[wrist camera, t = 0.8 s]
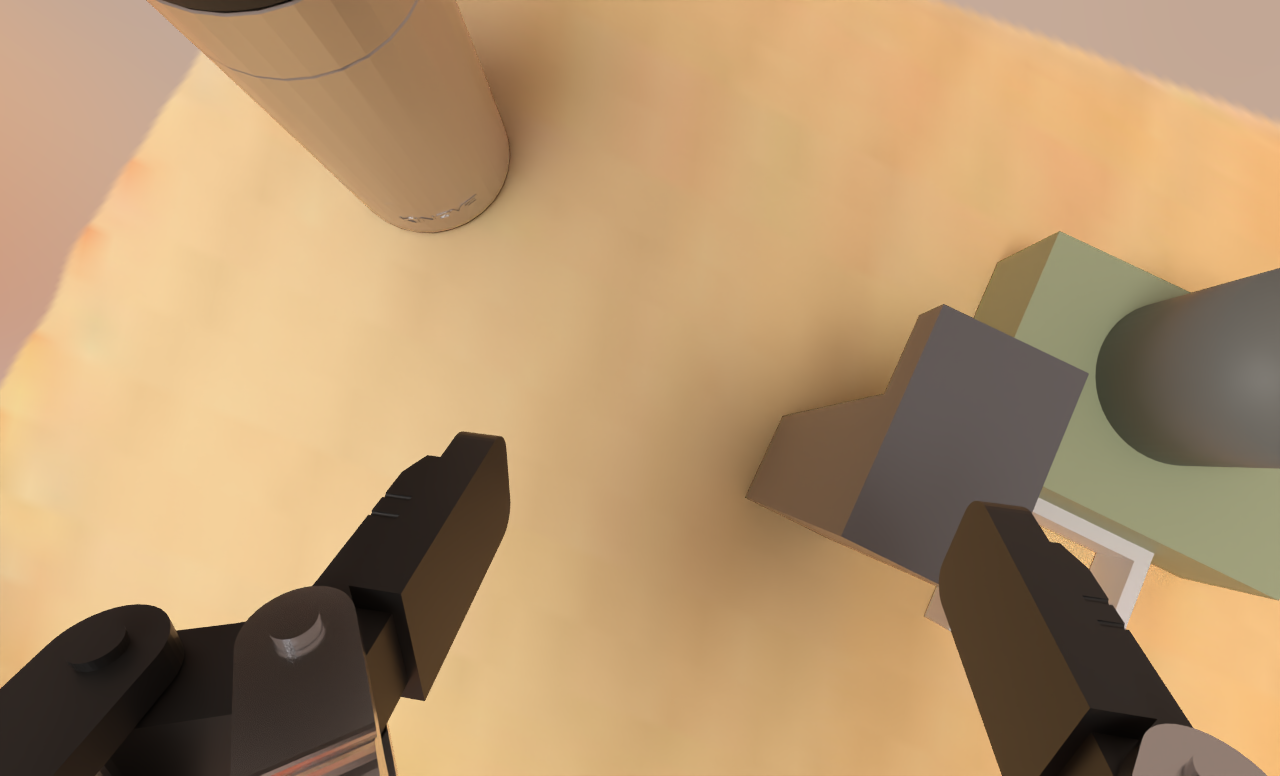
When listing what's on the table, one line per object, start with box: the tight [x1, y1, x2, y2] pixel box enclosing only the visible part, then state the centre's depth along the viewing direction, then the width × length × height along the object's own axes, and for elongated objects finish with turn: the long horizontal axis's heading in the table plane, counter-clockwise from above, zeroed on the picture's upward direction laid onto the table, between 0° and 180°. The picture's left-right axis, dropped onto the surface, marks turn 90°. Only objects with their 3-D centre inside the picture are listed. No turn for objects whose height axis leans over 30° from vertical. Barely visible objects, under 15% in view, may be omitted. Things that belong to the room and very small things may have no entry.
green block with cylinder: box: [924, 231, 1280, 631], centre depth 28 cm, size 20×16×11 cm
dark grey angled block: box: [745, 304, 1089, 587], centre depth 26 cm, size 8×5×15 cm, turn 154°
